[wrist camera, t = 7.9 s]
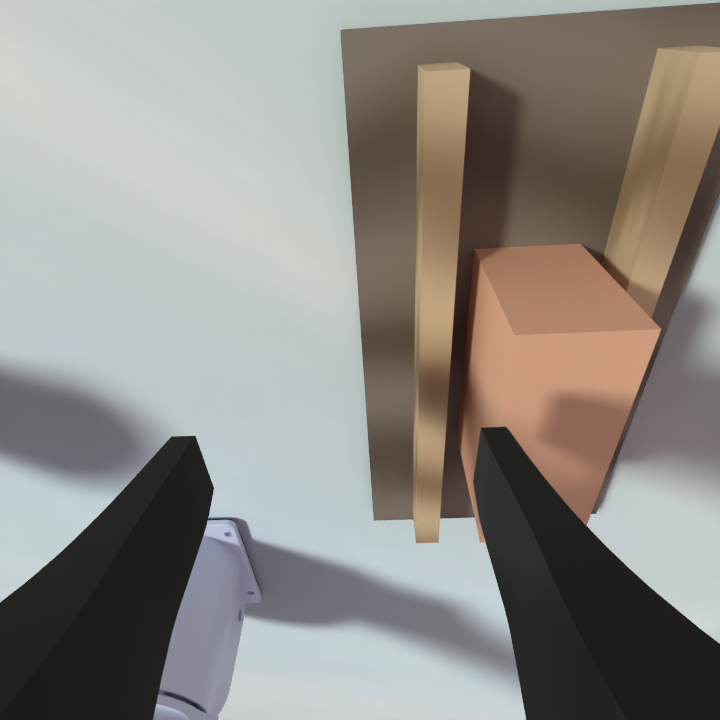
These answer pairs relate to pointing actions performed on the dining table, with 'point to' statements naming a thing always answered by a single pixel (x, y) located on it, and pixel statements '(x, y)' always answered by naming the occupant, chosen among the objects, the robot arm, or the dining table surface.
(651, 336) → the block
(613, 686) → the robot arm
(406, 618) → the dining table surface
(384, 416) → the wooden stand
